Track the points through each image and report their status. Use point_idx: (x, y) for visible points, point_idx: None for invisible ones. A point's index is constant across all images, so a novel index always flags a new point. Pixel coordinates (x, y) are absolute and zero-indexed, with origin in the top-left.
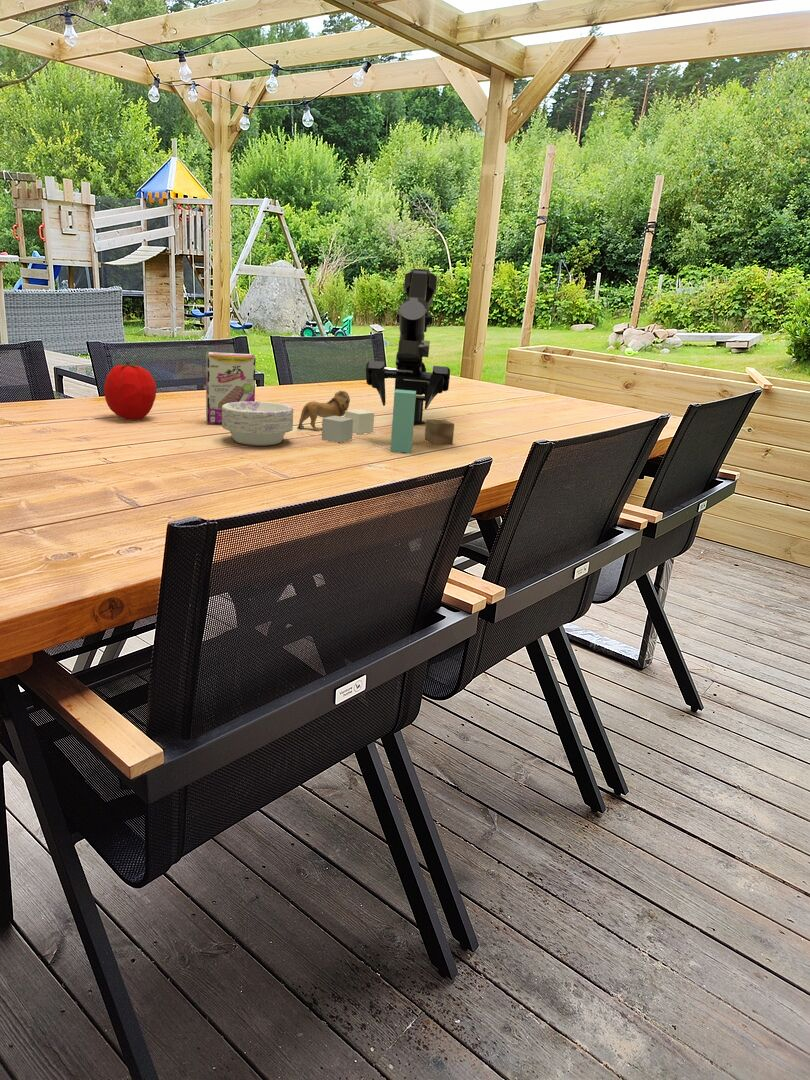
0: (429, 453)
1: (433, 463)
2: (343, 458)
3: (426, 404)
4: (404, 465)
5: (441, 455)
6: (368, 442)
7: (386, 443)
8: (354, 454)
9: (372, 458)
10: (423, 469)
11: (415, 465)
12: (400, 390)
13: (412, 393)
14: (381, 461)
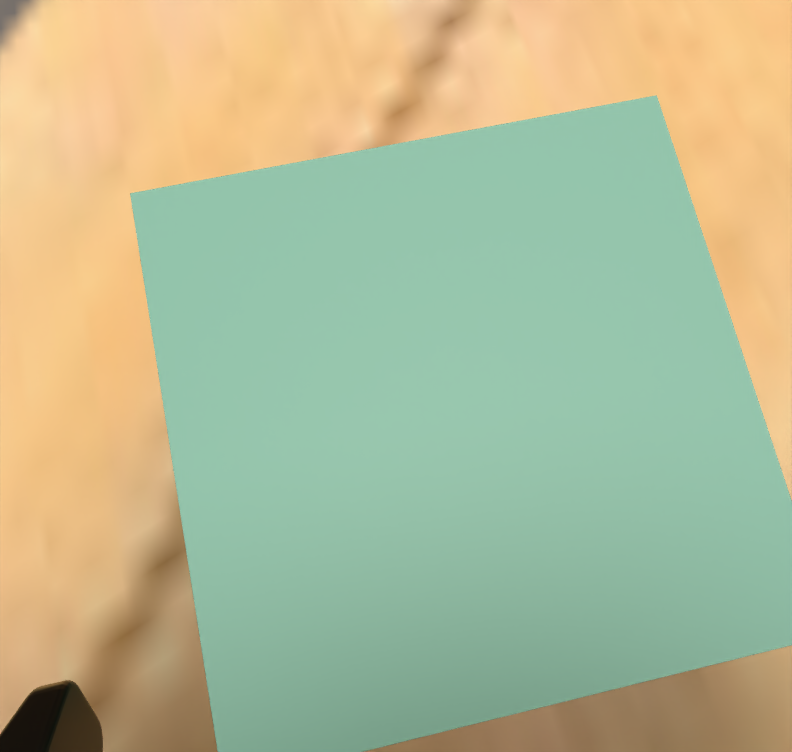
0: (142, 534)
1: (54, 201)
2: (692, 14)
3: (25, 714)
4: (248, 40)
5: (26, 517)
6: (772, 660)
7: (615, 723)
8: (679, 160)
9: (517, 114)
10: (98, 2)
11: (174, 78)
12: (640, 495)
13: (215, 215)
14: (430, 65)
